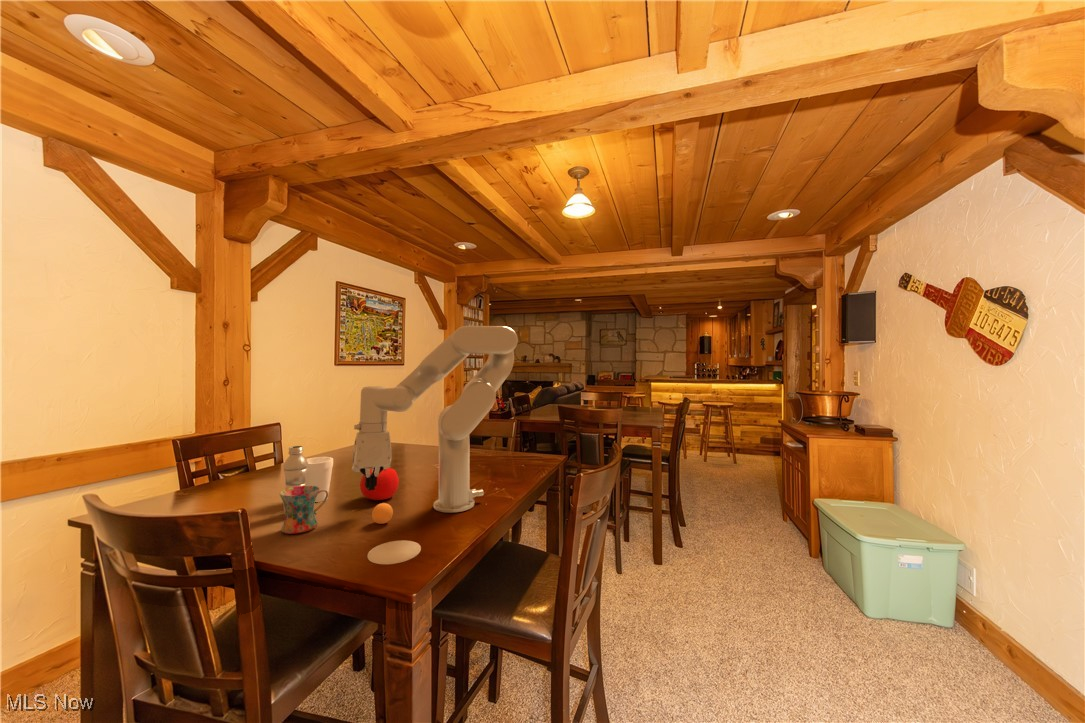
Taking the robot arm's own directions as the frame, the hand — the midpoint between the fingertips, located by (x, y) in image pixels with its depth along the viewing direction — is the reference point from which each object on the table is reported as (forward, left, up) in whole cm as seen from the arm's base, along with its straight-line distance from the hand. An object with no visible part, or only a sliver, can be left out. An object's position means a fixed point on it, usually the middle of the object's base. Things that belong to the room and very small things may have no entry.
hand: (370, 489), depth 123 cm
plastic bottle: (+18, -13, -8) cm, 23 cm away
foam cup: (+11, -24, -8) cm, 27 cm away
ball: (-1, +9, -5) cm, 10 cm away
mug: (+17, 0, -8) cm, 19 cm away
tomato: (-6, -13, -8) cm, 16 cm away
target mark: (+2, +29, -7) cm, 30 cm away
